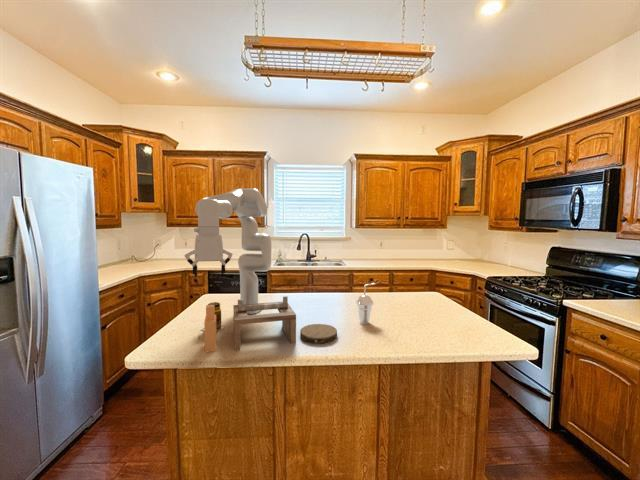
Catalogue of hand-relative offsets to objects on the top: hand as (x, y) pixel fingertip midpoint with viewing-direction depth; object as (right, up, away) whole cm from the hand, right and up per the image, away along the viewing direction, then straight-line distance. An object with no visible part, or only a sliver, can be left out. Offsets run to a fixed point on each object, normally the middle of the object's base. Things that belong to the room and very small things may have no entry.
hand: (209, 275), depth 115 cm
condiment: (-6, -27, +21) cm, 35 cm away
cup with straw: (+65, -27, +31) cm, 77 cm away
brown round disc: (+42, -29, +14) cm, 53 cm away
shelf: (+19, -28, +12) cm, 36 cm away
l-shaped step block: (0, -29, +2) cm, 29 cm away
